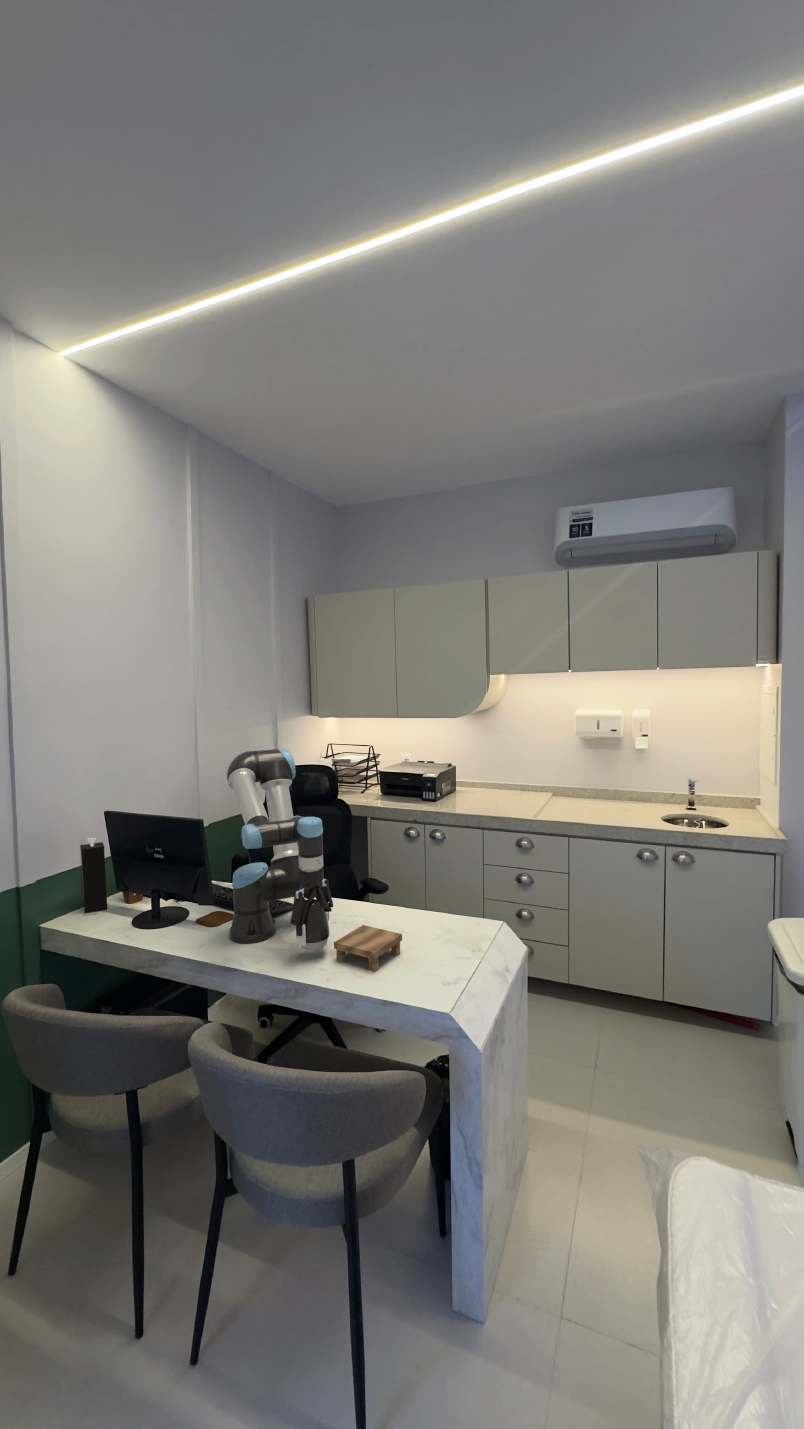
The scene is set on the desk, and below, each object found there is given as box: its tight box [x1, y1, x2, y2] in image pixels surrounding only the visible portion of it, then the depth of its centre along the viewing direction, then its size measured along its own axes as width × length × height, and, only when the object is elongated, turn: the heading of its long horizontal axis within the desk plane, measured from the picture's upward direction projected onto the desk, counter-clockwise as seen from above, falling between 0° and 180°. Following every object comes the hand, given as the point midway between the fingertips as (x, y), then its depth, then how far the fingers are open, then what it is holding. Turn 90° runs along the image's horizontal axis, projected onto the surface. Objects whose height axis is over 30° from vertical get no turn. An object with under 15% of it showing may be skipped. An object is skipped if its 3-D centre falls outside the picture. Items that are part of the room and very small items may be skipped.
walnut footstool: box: [333, 924, 403, 972], centre depth 186 cm, size 15×15×6 cm
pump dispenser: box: [295, 898, 331, 952], centre depth 188 cm, size 10×10×15 cm
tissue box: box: [79, 837, 108, 914], centre depth 235 cm, size 8×8×28 cm
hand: (313, 938), depth 188 cm, fingers closed on pump dispenser, 10 cm apart
